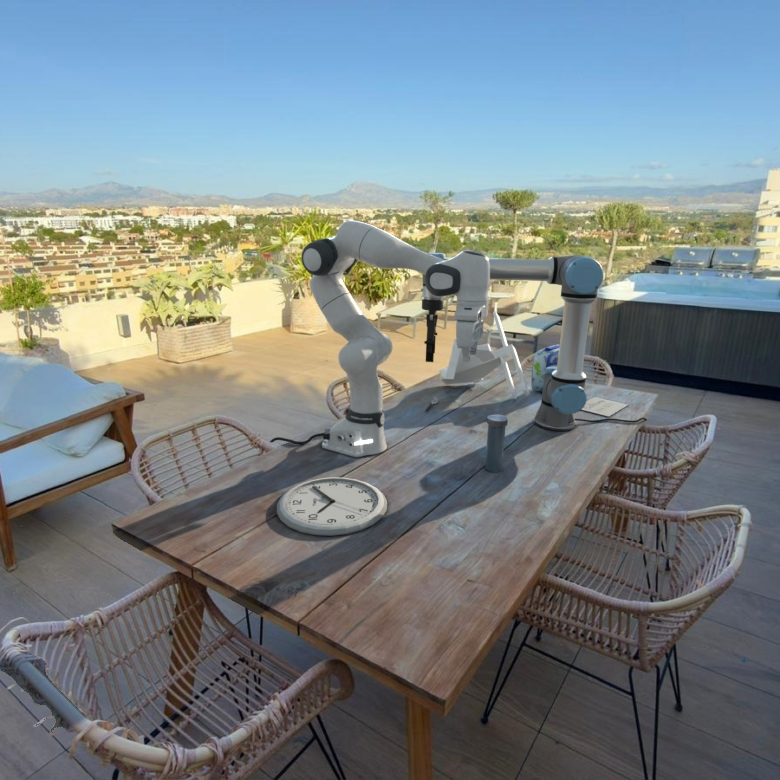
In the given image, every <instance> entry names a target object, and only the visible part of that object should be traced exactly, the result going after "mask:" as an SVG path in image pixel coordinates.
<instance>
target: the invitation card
mask: <svg viewBox="0 0 780 780" xmlns="http://www.w3.org/2000/svg"><path fill="white" fill-rule="evenodd" d="M628 406H629V404H627V403H623V402H618V401H614V400H609V399H605V398H601V397H596V396H593V397H592V398H590V399H587V401H586V404H585V406H584V407H583V408H582V409H581V410H580V411H584V412H587V413H593V414H596V415H600V416H604V417H608V418H609V417H611V416H613V415H614V414H616V413H617V412H619V411H621V410H623V409H624V408H626V407H628Z"/></svg>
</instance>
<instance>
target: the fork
mask: <svg viewBox="0 0 780 780" xmlns="http://www.w3.org/2000/svg"><path fill="white" fill-rule="evenodd" d="M438 401H439V398H438V397H435V396H433V398H432V399H431V401H430V404H429V405H428V406H427V408H426V409H425V412H427V411H428V410H429V409H431V408H432V406H433V405H437V404H438Z"/></svg>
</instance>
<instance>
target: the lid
mask: <svg viewBox="0 0 780 780" xmlns="http://www.w3.org/2000/svg"><path fill="white" fill-rule="evenodd" d="M508 421H509V418H508V417H507V416H506V415H502V414H490V415H489V414H488V416H487V419H486V424H487V426H488V425H490V426H493V427H505V426H506V427H507V426H508Z"/></svg>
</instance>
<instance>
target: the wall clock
mask: <svg viewBox="0 0 780 780" xmlns="http://www.w3.org/2000/svg"><path fill="white" fill-rule="evenodd" d="M387 509H388V500H387V498H386V496H385V494H384V493H383V492H382V491H381V490H380V489H379V488H377V487H376V486H374V485H372V484H371V483H369V482H365V481H362V480H359V479H355V478H349V477H338V476H337V477H335V476H333V477H332V476H331V477H322V478H317V479H312V480H307V481H305V482H302V483H299V484H297V485H295V486H293V487H292V488H290V489H288V490H287V491H286V492H285V493H284V494H283V495H281V496H280V498H279V499H278V502H277V503H276V515H277V517H278V518H279V520H280V521H281V522H282V523H283V524H285V525H286V526H287V527H288V528H290V529H293V530H295V531H297V532H299V533H303V534H308V535H312V536H327V537H328V536H329V537H331V536H332V537H333V536H342V535H350V534H352V533H356V532H361V531H363V530H366V529H368V528H369V527H372V526H373V525H375V524H376V523H378V522H379V521H380V520H381V519H382V518H383V517H384V516H385V514H386V512H387Z"/></svg>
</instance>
